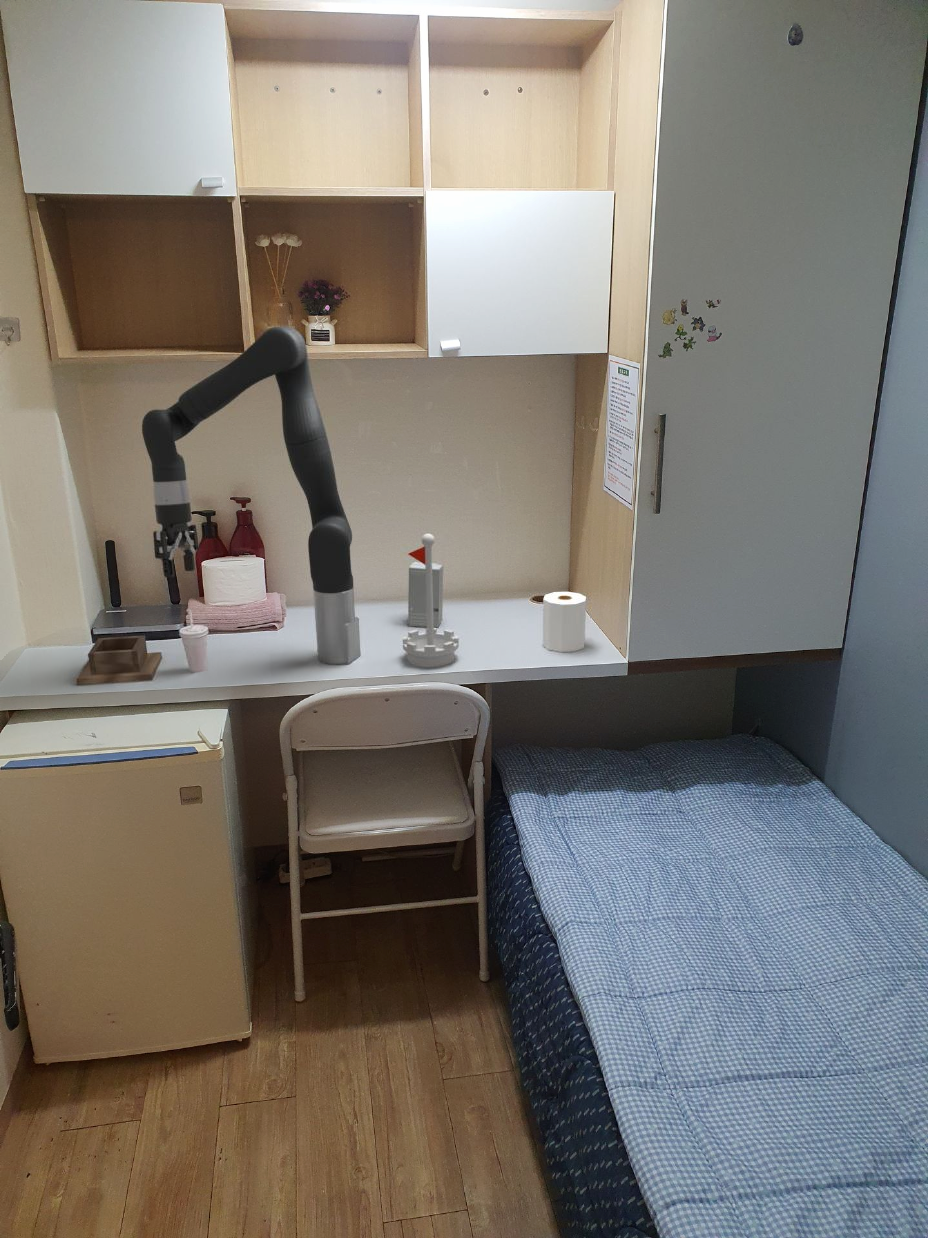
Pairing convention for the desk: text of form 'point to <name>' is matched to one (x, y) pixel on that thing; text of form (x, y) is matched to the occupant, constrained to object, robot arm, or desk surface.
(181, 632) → the smoothie
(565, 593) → the toilet paper
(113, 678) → the socket board
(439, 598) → the skincare box
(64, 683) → the desk surface
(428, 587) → the flag stand
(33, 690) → the desk surface
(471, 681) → the desk surface
